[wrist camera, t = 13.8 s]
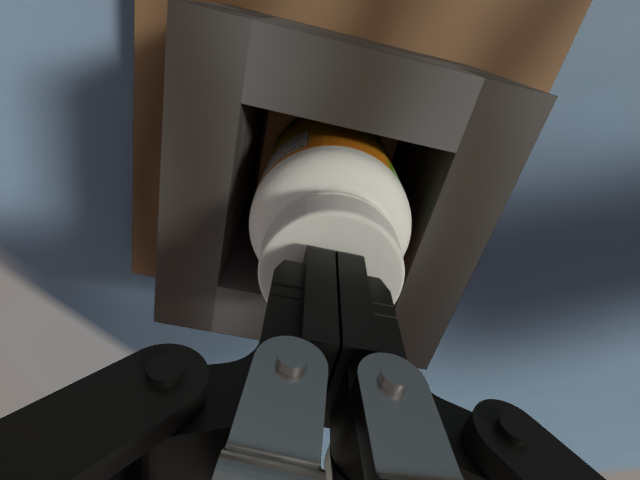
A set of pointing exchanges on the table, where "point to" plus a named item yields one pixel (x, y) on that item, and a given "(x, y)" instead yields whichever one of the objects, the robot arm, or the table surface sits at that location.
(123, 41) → the table surface
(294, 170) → the supplement bottle
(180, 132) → the collar block
